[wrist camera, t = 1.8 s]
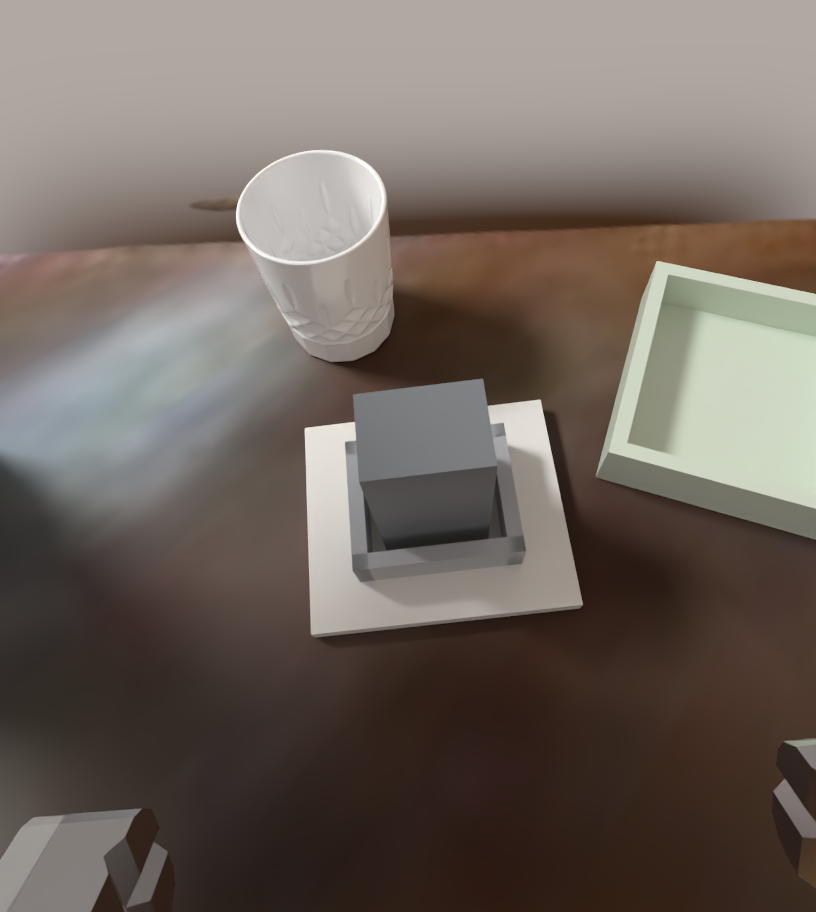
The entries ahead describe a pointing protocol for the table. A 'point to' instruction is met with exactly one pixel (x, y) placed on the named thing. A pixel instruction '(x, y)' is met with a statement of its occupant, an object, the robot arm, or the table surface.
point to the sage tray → (720, 399)
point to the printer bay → (444, 565)
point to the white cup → (323, 250)
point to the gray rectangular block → (427, 462)
